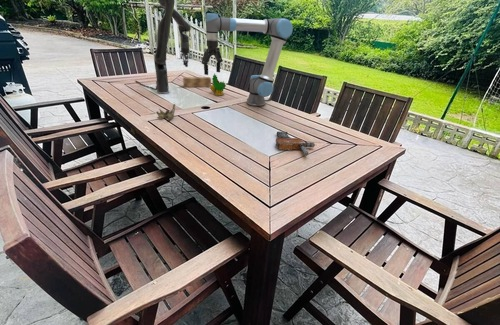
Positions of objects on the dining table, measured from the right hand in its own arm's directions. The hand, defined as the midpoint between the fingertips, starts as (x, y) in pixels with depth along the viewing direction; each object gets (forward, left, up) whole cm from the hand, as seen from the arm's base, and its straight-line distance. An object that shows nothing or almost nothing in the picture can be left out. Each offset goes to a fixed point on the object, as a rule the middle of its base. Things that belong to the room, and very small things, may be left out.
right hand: (212, 73), depth 183 cm
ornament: (-24, -40, -27) cm, 54 cm away
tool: (-22, +76, -27) cm, 83 cm away
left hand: (-5, -76, -8) cm, 77 cm away
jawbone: (+34, +6, -27) cm, 44 cm away
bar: (-15, -74, -27) cm, 80 cm away
